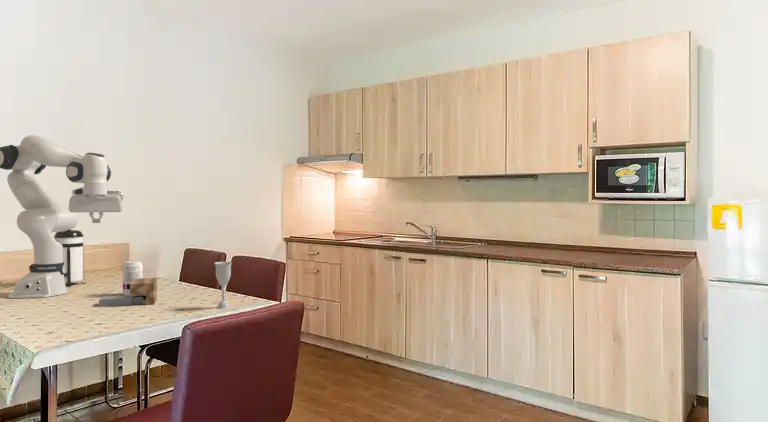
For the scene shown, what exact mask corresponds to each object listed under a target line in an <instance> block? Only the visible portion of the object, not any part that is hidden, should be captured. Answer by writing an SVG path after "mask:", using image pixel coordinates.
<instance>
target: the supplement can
mask: <svg viewBox="0 0 768 422" xmlns="http://www.w3.org/2000/svg"><path fill="white" fill-rule="evenodd" d="M143 269H144V268H143V263H142V260H128V261H124V262H123V264H122V295H130V283H131V282H132V281H133V280H134V279H140V278H144V276H143V273H144V272H143V271H144V270H143Z"/></svg>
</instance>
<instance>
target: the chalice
mask: <svg viewBox="0 0 768 422" xmlns="http://www.w3.org/2000/svg"><path fill="white" fill-rule="evenodd" d="M232 264H233V262H232V261H216V262H214V266H215V277H216V279H217V282H218V284H219V285H220V286H221V287H222V288H221V292H222V293H221V295H220V296H221V298H222V299H221V301H219V302H218V305H217V307H216V308H217V309H229V308H231V306H230V303H229V301H228V300H226V298H225V297H226V294H225V293H226V289H225V287H226V286H227V285H228V283H229V281H230V279H231V275H232Z"/></svg>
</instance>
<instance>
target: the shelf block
mask: <svg viewBox="0 0 768 422" xmlns="http://www.w3.org/2000/svg"><path fill="white" fill-rule="evenodd" d="M143 295H144V298H143V304H142V305H146V306H150V305H151V306H154V305H155V303H156V301H157V300H158V278H157V277H143V278H140V279H134V280H133V281H132V282H131V283H130V296H143Z"/></svg>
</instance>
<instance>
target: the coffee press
mask: <svg viewBox="0 0 768 422" xmlns="http://www.w3.org/2000/svg"><path fill="white" fill-rule="evenodd" d="M54 233H55V234H54V235H53V238H54V240H55V241H57V242H59V243H61V244H62V246H63V262H64V265H65V273H64V279H65V284H67V287H68V288H69V287H71V286H72V284H74V283H79V282H80V283H82V284H84V285H85V284H86V282H87V280H86V279H85V276H84V274H85V271H84V270H85V269H84V267H85V266H84V264H85V263H84V241H83V238H84V234H83V232H82V231H81V230H78V229H70V230H67V231H63V232H54ZM83 280H84V282H83Z"/></svg>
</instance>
